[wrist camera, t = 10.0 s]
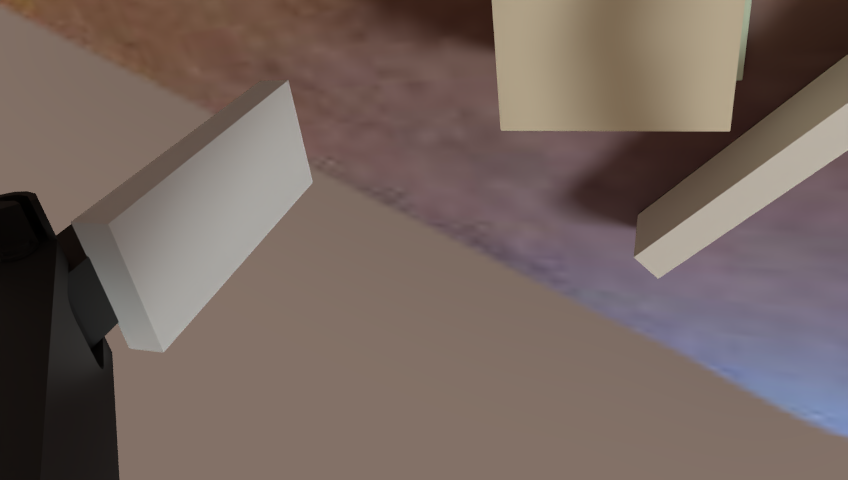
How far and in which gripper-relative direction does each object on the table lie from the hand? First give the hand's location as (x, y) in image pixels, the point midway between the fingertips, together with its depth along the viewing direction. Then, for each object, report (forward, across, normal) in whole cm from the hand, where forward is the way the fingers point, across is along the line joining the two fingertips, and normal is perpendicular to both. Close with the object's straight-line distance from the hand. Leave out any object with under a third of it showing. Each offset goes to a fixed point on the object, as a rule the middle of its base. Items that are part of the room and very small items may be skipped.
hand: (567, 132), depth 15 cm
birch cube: (+18, 0, 0) cm, 18 cm away
